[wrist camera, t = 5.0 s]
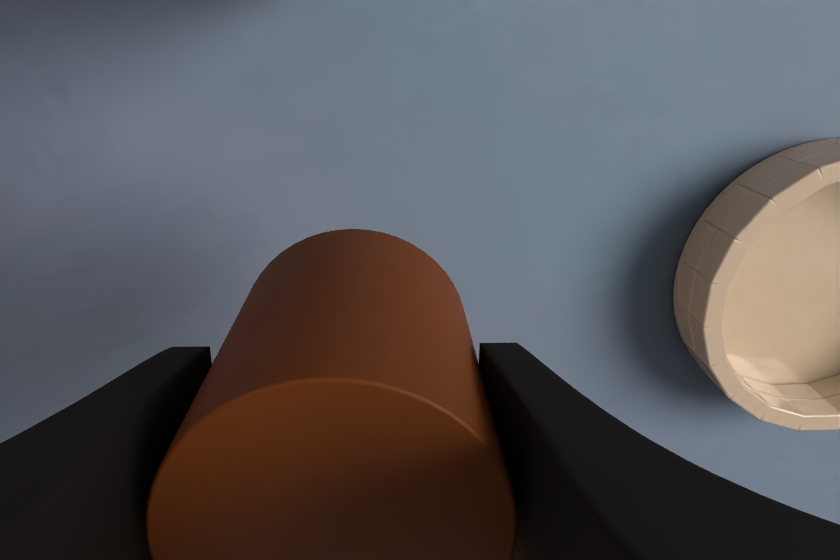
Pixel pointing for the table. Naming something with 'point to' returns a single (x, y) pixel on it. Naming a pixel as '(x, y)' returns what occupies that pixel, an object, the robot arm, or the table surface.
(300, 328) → the brown cylinder
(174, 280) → the table surface
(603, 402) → the table surface
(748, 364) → the cream bowl
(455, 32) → the table surface
